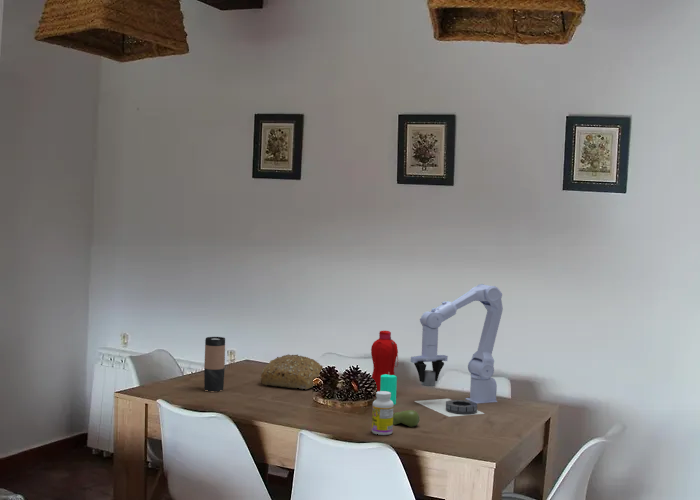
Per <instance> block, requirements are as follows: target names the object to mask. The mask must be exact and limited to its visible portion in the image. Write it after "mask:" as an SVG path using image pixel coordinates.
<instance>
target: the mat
mask: <svg viewBox="0 0 700 500" xmlns="http://www.w3.org/2000/svg"><path fill="white" fill-rule="evenodd" d="M449 400H452V399H450V398H441V399H439V398H438V399H437V398H436V399H425V400H424V399H423V400H414V402H415V403H417V404H419V405H421V406H423V407H426V408H428V409H430V410H432V411H435V412H436V413H439V414H441V415H444V416H446V417H449V418H450V417H463V416H465V415H462V414H454V413H450V412H447V411H446V402H447V401H449ZM484 414H486V413H484V412H483V411H480V410H478V409H477V413H475V414H469V415H468V416H473V415H484Z"/></svg>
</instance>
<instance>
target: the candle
mask: <svg viewBox="0 0 700 500" xmlns="http://www.w3.org/2000/svg"><path fill="white" fill-rule="evenodd" d="M397 381H398V376H396V374H395V375H387V374H384V375H381V382H380V391H387V392H390V393H391V398H390V400H391V401H392V402H393V404H394V405H397V393H396V390H397V387H398V386H397V385H398V384H397V383H398V382H397Z"/></svg>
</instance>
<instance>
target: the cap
mask: <svg viewBox="0 0 700 500" xmlns="http://www.w3.org/2000/svg"><path fill="white" fill-rule="evenodd" d="M435 376H436V372H435V371H433V370H432V369H431V370H430V369H425V378H424V382H421V384H420V385H421V386H424V387H435V386H436V381H435Z"/></svg>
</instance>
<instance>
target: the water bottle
mask: <svg viewBox="0 0 700 500" xmlns="http://www.w3.org/2000/svg"><path fill="white" fill-rule="evenodd" d="M378 334H379V337H378V339H376V340H375V341H373V342H372V345H371V349H370V351H371V352H370V354H371V359H372V364H373V365H372V366H373V367H372V368H373V371H372V375H371V378H373V379H374V380H375V382H376V385H377V392H378V391H380V382H381V375H384V374H387V375H395V376H396V374H395V368H397V367H398V365H399V363H397V365H396V361H397V360H399V355H398V354H399V351H398V345H397V343H396V342H395V340H393V339H392V332H391V331H390V330H379V333H378ZM397 392H398V391H397V390H396V394H397Z"/></svg>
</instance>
